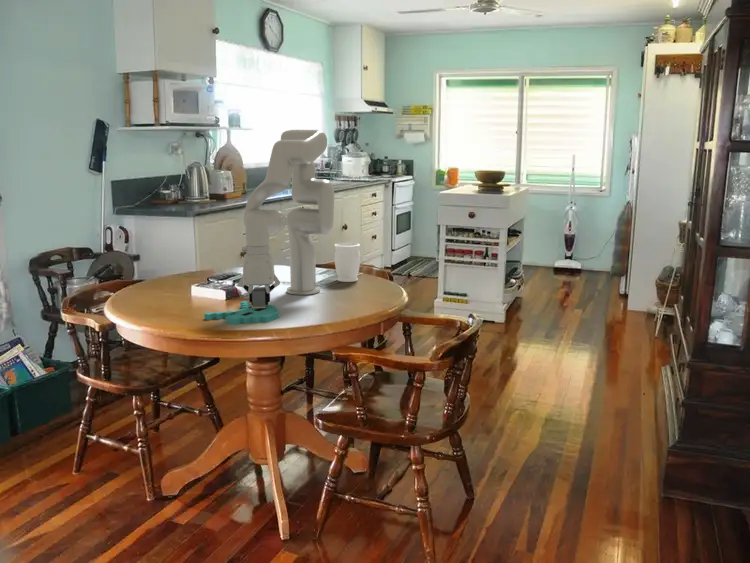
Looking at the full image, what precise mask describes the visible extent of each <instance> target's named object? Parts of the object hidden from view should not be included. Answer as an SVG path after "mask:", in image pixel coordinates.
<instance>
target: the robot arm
mask: <svg viewBox="0 0 750 563" xmlns="http://www.w3.org/2000/svg"><path fill="white" fill-rule="evenodd" d="M327 148H328V137H327V135H326V133H325V132H324V131H322V130H320V129H290V130H289V129H288V130H285V131H284V132H282V133H281V135H280V140H277V141H276V142H275V143H274V144H273V146H272V149H271V154H270V158H269V161H268V162H269V163H268V166H267V170H266V174H265V175H266V176H265V178H264V180H263V181H262V182H261V183H260V184H259V185H258V186H257V187H255V188H254V190H253V191H252V192H251V193H250V195H249V197H248V198H247V201H246V204H245V209H244V213H243V214H244V215H243V224H244V227H245V246H241V251H242V252H245V253H244V255H243V261H242V276H241V278H240V279H239V281H238V282H237V285H238V286H239V287H241V288H243V289H244V290H245V291H246V292H247V293H248V294H249V295H248V298H249V299H248V300H249V301H248V302H250V305H251V306H253V303H252V291H253V289H254V286H264V287H265V288H266V293H265V305H269V303H270V302H271V292H272V291H273V290H274V289H275V288H277V287H278V286H280V285H281V281H280V280H279V278H278V276H276V274H275V267H274V266H275V265H274V261H273V260H274V259H273V255H272V253H270V234H272V233H281V231H283V230H284V229H285V228H286V227H287V232H288V238H289V239H288V240H289V266H290V267H289V269H290V273H289V274H290V286H288V287H286V293H288V294H290V295H298V296H299V295H300V296H304V295H305V296H306V295H308V296H309V295H314V294H317V293H320V291H321V288H320V287H319V286H317V279H316V278H317V277H316V276H317V273H316V271H317V270H316V244H315V242H314V239H313V238H312V236H311V235H314V236H315V235H316V236H326V235H329V234H330V233H331V232H332V230H333V227H334V215H335V214H334V213H335V212H334V211H335V189H334V185H333V184H332V182H331V181H330V180H328V179H325V178H316V164H315V161H316V160H317V159H318V158H320V156H322V155H323V154H324V152H325V151H326V149H327ZM290 185H291V199H292V201H293V202H294V203H295V204H297V205H307V206H308V205H309V206H317V207H318V208H311V207H309V208H303V207H298V208H293V209H291V210H290V211H288V213H287V215H285V214H284V213H283V211H280V210H275V209H274V210H273V209H260V208H261V207H262V204H263V203H264V202H265V201H266V200H267V199H269V198H270V197H272V196H275V195H276V194H278V193H281V192H283V191H284V190H287V189H288V188H289V187H290Z"/></svg>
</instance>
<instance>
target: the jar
mask: <svg viewBox="0 0 750 563" xmlns="http://www.w3.org/2000/svg"><path fill="white" fill-rule="evenodd" d="M334 248H335V250H334V256H333V257H334V265H335V271H336V274H337V276H338V277H337V281H339V282H342V283H353V282H357V281H358V277H357V276H358V274H359V272H360V266H361V252H360V248H361V244H360V243H359V242H358V243H356V242H337V243H334Z"/></svg>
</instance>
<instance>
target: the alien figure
mask: <svg viewBox="0 0 750 563" xmlns="http://www.w3.org/2000/svg"><path fill="white" fill-rule="evenodd" d="M239 304H240V307H239V308H241V309H238V310H236V311H232V310H228V311H225V312H224V311H216V312H205V313H204V314H203V315H204V316H203V317H204V320H208V321H210V320H213V319H215V320H216V319H217V320H222V319H225V323H226V324H232V325H239V324H245V325H247V324H250V323H253V324H254V323H255V324H258V323H261V322H263V323H269V322H272V321H274V320H277V319H280V317H281V316H280V312H279V310H278V308H277V307H276V305H274V304H268V305H266V307H265V308H253V307H252V305H251V302H250V301H247V300H244V301H240V303H239Z"/></svg>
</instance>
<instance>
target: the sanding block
mask: <svg viewBox="0 0 750 563" xmlns="http://www.w3.org/2000/svg"><path fill="white" fill-rule="evenodd" d="M265 293H266V288H265V286H260V287H259V286H255V287H254V286H253V291H252V303H253V305H252V308H265V307H266V305H265Z"/></svg>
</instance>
